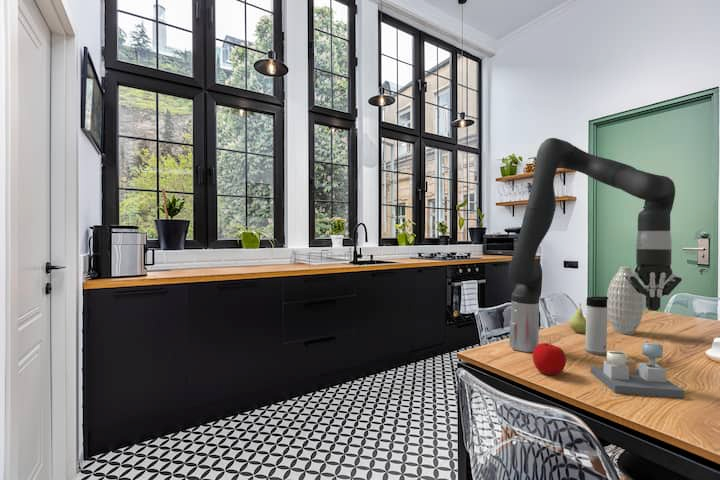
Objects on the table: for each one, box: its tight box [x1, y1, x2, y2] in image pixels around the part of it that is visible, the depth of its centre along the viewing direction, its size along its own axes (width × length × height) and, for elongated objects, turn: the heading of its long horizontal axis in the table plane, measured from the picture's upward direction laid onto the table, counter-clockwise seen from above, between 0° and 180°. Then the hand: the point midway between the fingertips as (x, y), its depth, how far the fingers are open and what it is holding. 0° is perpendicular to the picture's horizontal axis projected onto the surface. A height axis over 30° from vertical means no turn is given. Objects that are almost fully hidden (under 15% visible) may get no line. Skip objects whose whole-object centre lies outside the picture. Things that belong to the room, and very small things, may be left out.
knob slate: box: [641, 341, 664, 368], centre depth 100 cm, size 4×4×6 cm
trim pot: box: [626, 354, 637, 374], centre depth 105 cm, size 3×3×5 cm
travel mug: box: [585, 295, 608, 356], centre depth 128 cm, size 6×7×20 cm
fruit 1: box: [532, 339, 567, 376], centre depth 109 cm, size 9×9×10 cm
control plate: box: [590, 360, 685, 399], centre depth 101 cm, size 16×14×6 cm
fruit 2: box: [569, 303, 586, 334], centre depth 154 cm, size 7×8×12 cm
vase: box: [606, 266, 645, 335], centre depth 154 cm, size 13×13×28 cm
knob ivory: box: [606, 350, 627, 367], centre depth 101 cm, size 4×4×6 cm
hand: (653, 310), depth 99 cm, fingers closed
